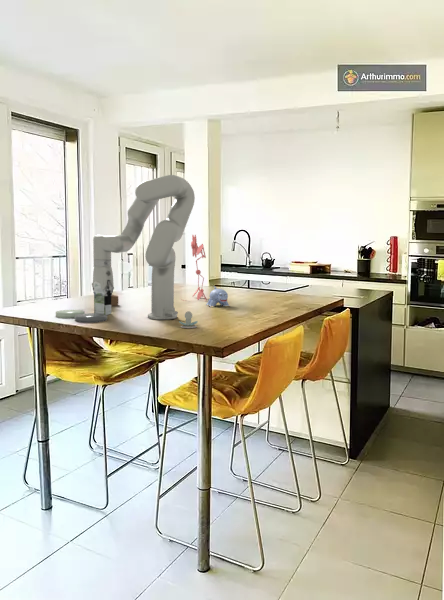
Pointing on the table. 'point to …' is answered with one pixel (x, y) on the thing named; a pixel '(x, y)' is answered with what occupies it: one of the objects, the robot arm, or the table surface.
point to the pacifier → (188, 321)
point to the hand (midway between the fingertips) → (102, 303)
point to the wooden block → (114, 300)
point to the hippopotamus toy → (218, 297)
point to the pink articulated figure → (196, 250)
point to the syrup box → (100, 300)
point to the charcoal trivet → (90, 317)
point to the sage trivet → (68, 313)
